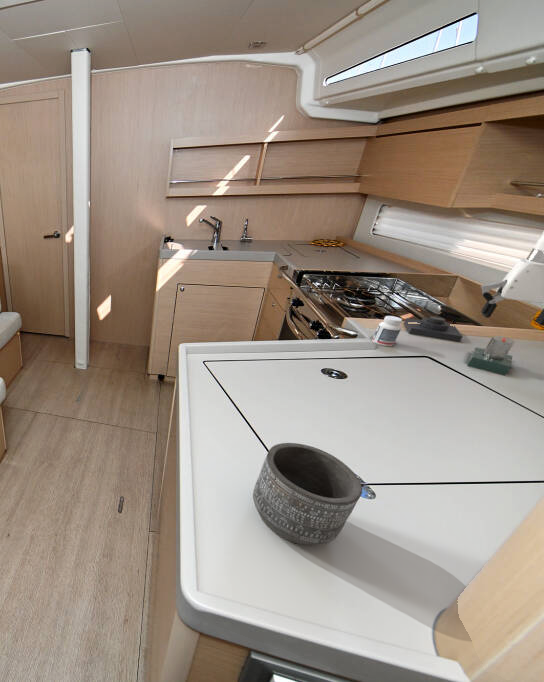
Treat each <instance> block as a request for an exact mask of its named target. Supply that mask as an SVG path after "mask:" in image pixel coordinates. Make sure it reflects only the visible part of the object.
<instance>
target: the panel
mask: <svg viewBox="0 0 544 682" xmlns="http://www.w3.org/2000/svg"><path fill="white" fill-rule="evenodd" d="M473 349H474V350H471V354H470V356H469V359H468V362H467V365H466V366H467V367H469V368H475V369H478V370H482V371H486V372H489V373H493V374H497V375H500V376H506V375H507V373H508V372H509V370H510V369H511V368H512V363H513V362H514V363H516V362H517V361H516V360H513V355H510V354H507V355H506V356H505V358H504V359H502V360H498V359H492V358H489V357H486V356H484V355H483V354H482V353H483V352H484V350H485V348H481V347H477V346H475V347H474V348H473Z"/></svg>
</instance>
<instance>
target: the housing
mask: <svg viewBox="0 0 544 682" xmlns="http://www.w3.org/2000/svg"><path fill="white" fill-rule="evenodd" d="M429 318H430V317H423V318H422V319H415V318H409V317H407V318H405V320H404V322H403V325H404V327H405V329H406V331H407V333H408V334H409V335H415V336H420V337H427V338H430V339H431V338H432V339H438V340H445V341H450V342H455V343H460V342H461V340H462V338H463V337H464V336H463V335H462V333H461V332H460V331H459V330H458V328H457V327H456V325H454V327H453V326H450V325H451V324H450V323H449V322H448V321H446V320H445V321H444V323H443V325H440V324H434V323H430V322H428V320H429ZM408 322H417V323H420V324H408Z"/></svg>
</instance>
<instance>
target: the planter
mask: <svg viewBox="0 0 544 682" xmlns="http://www.w3.org/2000/svg"><path fill="white" fill-rule="evenodd" d="M362 493H363V486H362V483H361V480H360V479H359V478H358V476H357V474H356V473H355V472H354V471H353V470H352V469H351V468H350V467H349V466H348V465H346V463H344V462H343V461H342V460H340V459H338V458H337V457H335V456H334V455H332V454H330V453H328V452H327V451H324V450H322V449H320V448H317V447H314V446H311V445H307V444H303V443H297V442H282V443H278V444H277V443H276V444H274V445H273V446H272V447H270V448H269V450H268V452H267V454H266V457H265V459H264V461H263V463H262V466H261V469H260V471H259V474H258V477H257V480H256V482H255V485H254V487H253V492H252V499H253V503H254V506H255V508H256V511H257V513H258V515H259V517H260V519H261V520H262V522H263V523H264V524H265V525H266V527H267V528H268V529H270V531H271V532H273V533H274V534H275V535H277V536H278V537H280V538H282V539H284V540H285V541H287V542H289V543H293V544H296V545H300V546H317V545H323V544H328V543H331V542H333V541H334V540H336V539H337V538H338V536H339V534H340V533H341V531H342V530H343V528H344V526H345V524H346V522H347V521H348V519H349V517H350V516H351V515H352V512H353V510H354V509H355V507H356V505H357V503H358V501H360V500H359V499H360V497H362Z"/></svg>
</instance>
